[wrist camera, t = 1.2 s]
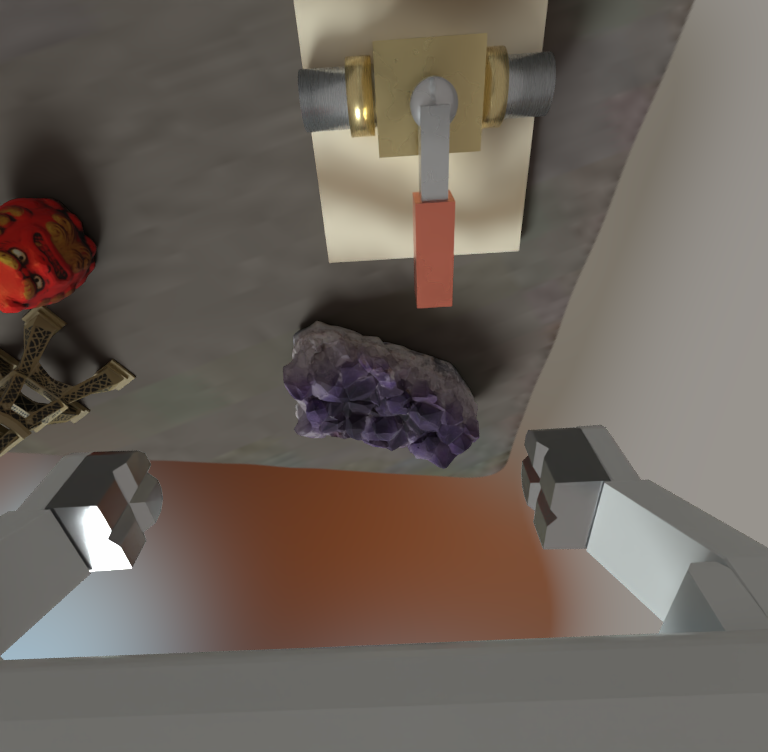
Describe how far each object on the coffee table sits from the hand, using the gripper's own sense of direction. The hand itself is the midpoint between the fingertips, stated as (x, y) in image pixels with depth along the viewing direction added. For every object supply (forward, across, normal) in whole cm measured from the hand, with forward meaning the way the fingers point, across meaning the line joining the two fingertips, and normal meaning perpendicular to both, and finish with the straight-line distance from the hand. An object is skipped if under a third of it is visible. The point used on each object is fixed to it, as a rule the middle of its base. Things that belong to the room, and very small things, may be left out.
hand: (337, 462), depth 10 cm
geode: (+34, 0, +19) cm, 39 cm away
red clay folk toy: (+32, +27, +2) cm, 42 cm away
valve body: (+32, -4, -6) cm, 33 cm away
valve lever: (+25, -4, -1) cm, 25 cm away
